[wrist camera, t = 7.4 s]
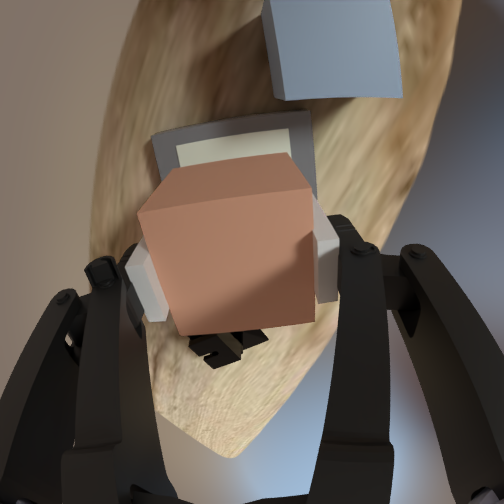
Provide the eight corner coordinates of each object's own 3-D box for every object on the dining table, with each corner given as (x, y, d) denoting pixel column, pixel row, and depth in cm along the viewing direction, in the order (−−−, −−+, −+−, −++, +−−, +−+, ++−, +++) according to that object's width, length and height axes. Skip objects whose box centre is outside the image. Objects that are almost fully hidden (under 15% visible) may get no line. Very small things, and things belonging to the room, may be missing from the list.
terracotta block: (286, 152, 15) (311, 188, 9) (294, 251, 18) (314, 321, 13) (172, 168, 15) (137, 213, 10) (195, 264, 18) (180, 335, 13)
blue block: (350, 13, 14) (387, -9, 9) (360, 93, 17) (402, 98, 12) (260, 14, 14) (266, -15, 9) (274, 97, 17) (285, 100, 12)
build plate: (147, 285, 25) (133, 320, 22) (214, 249, 24) (208, 284, 20) (224, 362, 31) (222, 397, 27) (283, 340, 29) (288, 376, 25)
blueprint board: (306, 109, 18) (310, 111, 16) (315, 229, 22) (319, 239, 21) (156, 132, 18) (150, 136, 17) (185, 246, 23) (182, 257, 21)
